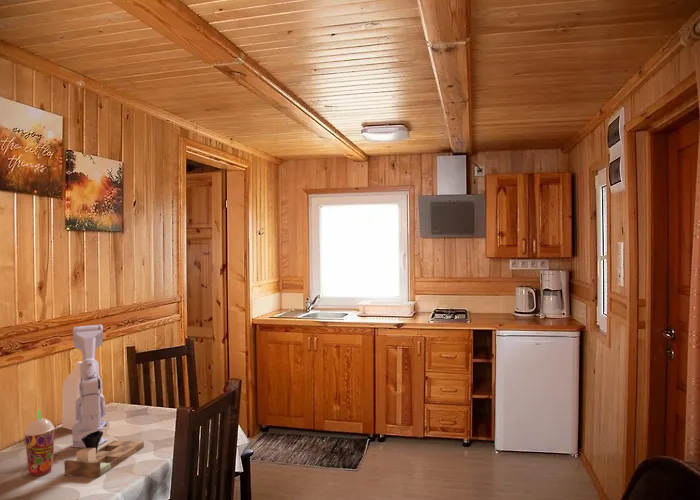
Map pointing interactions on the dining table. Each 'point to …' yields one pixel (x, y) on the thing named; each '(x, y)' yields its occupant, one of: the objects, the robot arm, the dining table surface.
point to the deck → (103, 459)
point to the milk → (72, 397)
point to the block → (86, 454)
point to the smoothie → (39, 446)
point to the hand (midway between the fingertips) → (92, 455)
